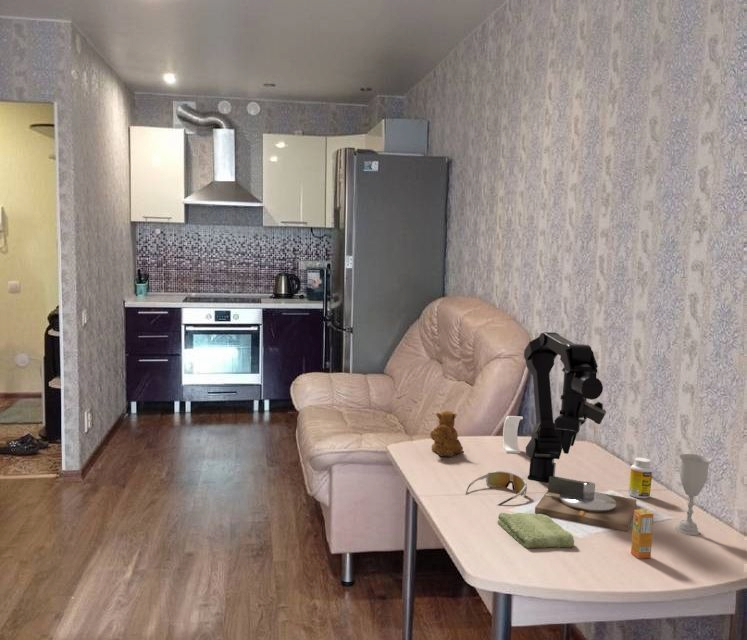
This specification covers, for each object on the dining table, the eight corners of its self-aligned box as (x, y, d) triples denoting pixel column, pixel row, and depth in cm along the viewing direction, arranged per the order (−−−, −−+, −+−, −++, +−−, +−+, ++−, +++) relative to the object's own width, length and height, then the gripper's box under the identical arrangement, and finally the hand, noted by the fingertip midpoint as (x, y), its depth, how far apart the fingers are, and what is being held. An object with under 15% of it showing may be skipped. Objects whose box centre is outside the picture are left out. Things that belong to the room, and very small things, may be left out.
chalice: (689, 538, 175) (696, 463, 174) (665, 527, 181) (673, 455, 180) (710, 534, 179) (718, 460, 177) (686, 524, 185) (694, 453, 183)
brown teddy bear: (463, 449, 243) (466, 410, 241) (458, 461, 229) (461, 419, 228) (432, 446, 245) (435, 406, 244) (425, 457, 231) (428, 415, 230)
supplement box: (628, 552, 164) (633, 508, 163) (643, 552, 165) (647, 508, 164) (636, 559, 161) (641, 514, 160) (651, 558, 162) (655, 513, 161)
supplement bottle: (641, 500, 202) (644, 463, 201) (624, 494, 206) (627, 457, 205) (654, 497, 205) (657, 461, 204) (637, 491, 209) (640, 455, 208)
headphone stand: (506, 452, 242) (508, 416, 241) (501, 447, 248) (504, 412, 247) (520, 453, 242) (523, 416, 241) (515, 448, 248) (518, 412, 247)
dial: (619, 500, 195) (620, 481, 195) (612, 516, 182) (614, 496, 182) (553, 488, 202) (554, 469, 202) (542, 502, 189) (544, 483, 189)
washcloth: (544, 521, 182) (545, 508, 182) (578, 550, 165) (579, 536, 165) (493, 522, 180) (494, 509, 179) (522, 551, 162) (523, 537, 162)
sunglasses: (535, 496, 200) (535, 478, 199) (503, 516, 189) (503, 497, 188) (490, 482, 210) (490, 465, 209) (458, 501, 199) (458, 483, 198)
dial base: (534, 513, 186) (535, 506, 186) (552, 489, 206) (552, 483, 206) (627, 531, 177) (628, 524, 177) (636, 505, 197) (636, 498, 197)
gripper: (601, 401, 186) (596, 463, 187) (609, 390, 203) (603, 446, 205) (556, 395, 190) (551, 455, 192) (567, 385, 207) (562, 440, 209)
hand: (568, 449), depth 199 cm, fingers open, 9 cm apart
